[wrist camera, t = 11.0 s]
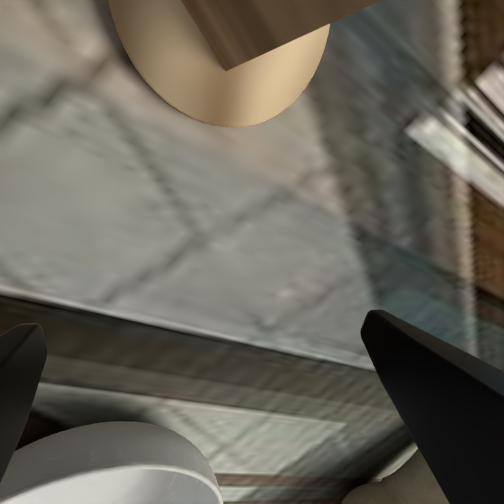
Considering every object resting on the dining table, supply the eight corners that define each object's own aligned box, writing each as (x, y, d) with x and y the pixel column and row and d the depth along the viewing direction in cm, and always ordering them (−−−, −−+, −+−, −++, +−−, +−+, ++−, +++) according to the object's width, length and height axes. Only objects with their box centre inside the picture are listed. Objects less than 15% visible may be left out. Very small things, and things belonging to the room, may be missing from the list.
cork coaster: (126, 125, 16) (125, 126, 16) (76, -208, 11) (71, -234, 11) (311, 127, 20) (318, 128, 19) (335, -122, 15) (347, -136, 14)
